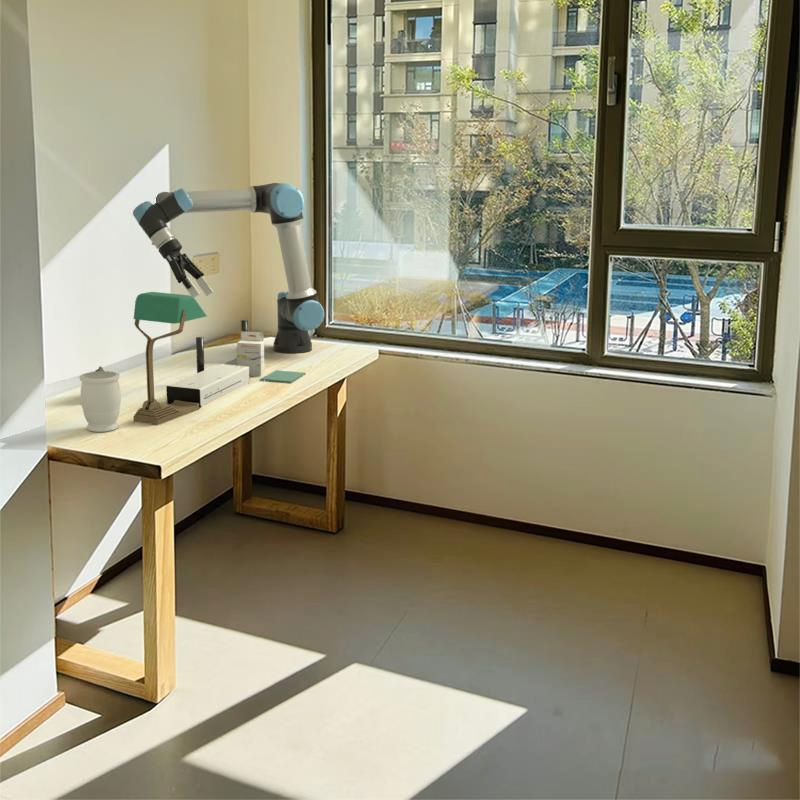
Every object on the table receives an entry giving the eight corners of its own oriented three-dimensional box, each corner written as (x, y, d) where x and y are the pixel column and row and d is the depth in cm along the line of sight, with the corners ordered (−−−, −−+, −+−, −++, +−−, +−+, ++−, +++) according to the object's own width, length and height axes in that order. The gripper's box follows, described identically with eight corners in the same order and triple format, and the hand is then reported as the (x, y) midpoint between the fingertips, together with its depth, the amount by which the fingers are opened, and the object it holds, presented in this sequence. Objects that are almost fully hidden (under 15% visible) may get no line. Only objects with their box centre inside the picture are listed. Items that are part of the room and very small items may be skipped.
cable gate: (238, 360, 341) (238, 319, 338) (254, 362, 340) (253, 320, 336) (191, 383, 305) (189, 337, 302) (207, 385, 304) (206, 338, 300)
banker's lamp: (123, 419, 263) (116, 296, 254) (168, 403, 281) (164, 288, 272) (168, 426, 257) (163, 301, 248) (212, 409, 275) (209, 292, 266)
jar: (89, 422, 259) (86, 370, 255) (126, 423, 259) (124, 371, 255) (77, 433, 248) (73, 379, 245) (116, 434, 249) (113, 380, 245)
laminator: (200, 409, 276) (199, 389, 275) (163, 405, 280) (162, 385, 278) (249, 384, 308) (249, 366, 306) (216, 381, 311) (215, 363, 310)
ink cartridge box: (236, 375, 318) (236, 333, 315) (240, 372, 323) (239, 331, 320) (261, 377, 318) (260, 334, 314) (264, 373, 322) (264, 332, 319)
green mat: (276, 371, 325) (276, 370, 325) (305, 374, 323) (305, 372, 323) (260, 380, 312) (260, 378, 312) (291, 383, 310) (291, 381, 310)
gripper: (172, 249, 329) (207, 298, 331) (143, 250, 305) (181, 303, 306) (188, 237, 328) (223, 286, 329) (161, 237, 303) (199, 290, 305)
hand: (203, 294), depth 318 cm, fingers open, 13 cm apart
